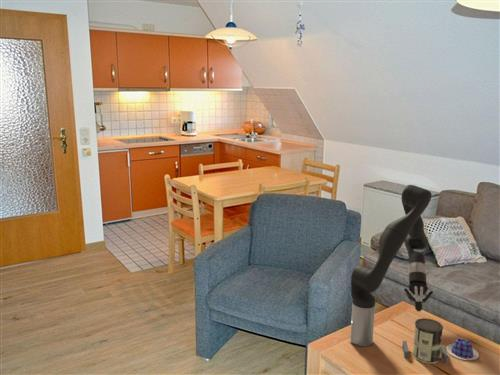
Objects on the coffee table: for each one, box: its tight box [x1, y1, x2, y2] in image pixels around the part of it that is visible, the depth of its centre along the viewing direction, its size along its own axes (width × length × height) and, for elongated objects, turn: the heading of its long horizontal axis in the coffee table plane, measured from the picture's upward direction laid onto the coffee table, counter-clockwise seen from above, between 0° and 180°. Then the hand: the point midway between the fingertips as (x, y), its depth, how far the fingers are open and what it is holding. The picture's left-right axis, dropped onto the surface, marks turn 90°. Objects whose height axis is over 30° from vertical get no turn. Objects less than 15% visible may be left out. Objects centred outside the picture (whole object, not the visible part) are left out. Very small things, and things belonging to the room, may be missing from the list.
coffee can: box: [412, 317, 444, 365], centre depth 177 cm, size 10×10×14 cm
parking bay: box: [401, 340, 449, 364], centre depth 179 cm, size 16×8×3 cm, turn 78°
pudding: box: [445, 337, 480, 361], centre depth 180 cm, size 12×12×5 cm
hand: (418, 310), depth 195 cm, fingers closed
